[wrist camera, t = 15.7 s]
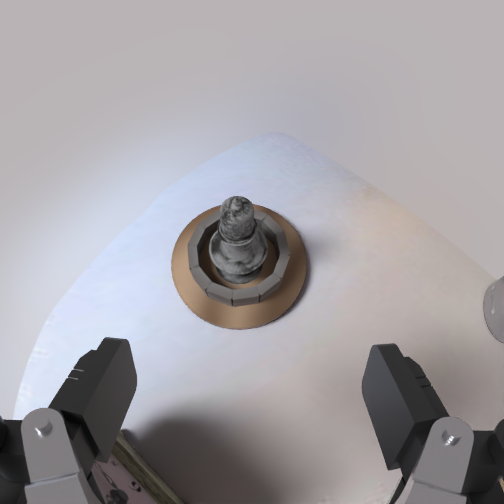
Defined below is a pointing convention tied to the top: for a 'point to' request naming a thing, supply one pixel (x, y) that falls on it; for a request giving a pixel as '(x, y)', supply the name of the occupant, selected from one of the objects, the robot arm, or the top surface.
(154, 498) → the tabletop clock
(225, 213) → the grey tall piece
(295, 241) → the socket stand
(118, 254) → the top surface
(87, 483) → the robot arm
